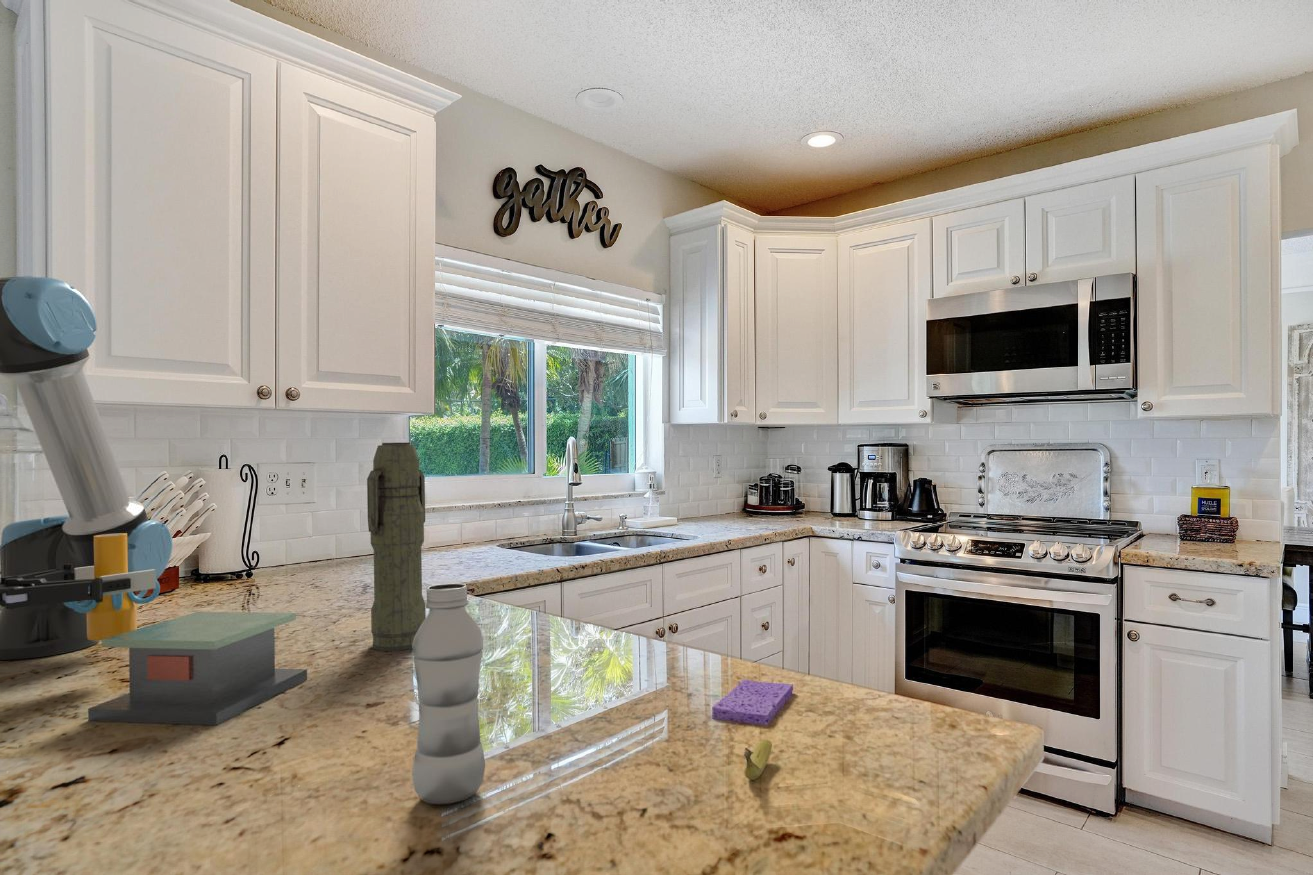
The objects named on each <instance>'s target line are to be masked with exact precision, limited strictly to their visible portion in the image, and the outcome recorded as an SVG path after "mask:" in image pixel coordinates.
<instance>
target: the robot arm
mask: <svg viewBox="0 0 1313 875" xmlns="http://www.w3.org/2000/svg"><path fill="white" fill-rule="evenodd" d="M97 330H98V324H97V319H96V316H95V312H94V309H93V308H92V305H91V304H90V303H89V301H88V300H87V299H86V297H85V296H84V295H83V294H82V293H81V292H80V291H79V290H78V289H76V288H75V287H73V286H71V285H69V284H68V283H67V282H65V281H63V280H61V279H58V278H53V277H37V276H30V275H24V276H11V277H10V276H9V277H0V375H1V376H3V377H5V378H8V379H10V380H11V381H13V382H14V383H15V385H16V387H17V390H18V392H19V395H20V397H21V399H22V402H23V405H24V407H25V410H26V411H27V412H26V413H27V414H28V417H29V420H30V421H31V425H32V427H33V429H34V431H35V435H36V437H37V439H38V442H39V444H40V447H41V450H42V452H43V455H44V456H45V460H46V462H47V465H48V466H49V469H50V471H51V473H52V476H53V479H54V481H55V483H56V486H57V488H58V492H59V493H60V496H61V499H62V501H63V503H64V506H65V509H66V511H67V513H68V514H64V515H56V516H49V517H42V518H41V517H39V518H34V519H33V518H32V519H26V520H22V521H21V520H20V521H15V522H11V523H9V524H7V525H5V527H4V528H3V529H2V532H1V538H0V539H1V542H0V607H1V608H0V609H1V610H0V661H7V660H9V661H10V660H11V661H12V660H24V659H34V658H42V657H49V656H53V655H54V656H55V655H60V654H65V653H66V654H67V653H71V652H73V651H78V650H82V649H85V648H89V647H91V646H94V645H95V644H97V643H99V642H100V641H94V640H88V639H87V619H86V613H87V612H86V613H79V612H77V611H75V610H74V609H72V608H69V607H67V606H66V605H65V604H64V603H65V602H75V601H77V602H78V604H81V603H84V602H85V601H87V600H95V603H98V602H103V596H107V595H114V594H120V593H127V592H133V593H134V592H139V591H140V592H141V590H147V589H148V590H154V588H156V580H158V578H160V577H161V575H162V574H163V573H164V571H165V570H166V568H167V566H168V564H169V561H170V560H171V556H172V553H173V536H172V533H171V530H170V529H169V526H168V525H166V524H165V523H162V521H158V520H153V519H149V518H148V514H147V512H146V509H145V506H144V505H143V503H142V502H140V501H138V500H134V499H132V498H130V496H129V493H128V490H127V487H126V485H125V482H124V480H123V476H122V474H121V472H120V468H119V466H118V463H117V461H116V456H114V452H113V449H112V446H111V443H110V442H109V439H108V436H107V433H106V429H105V427H104V425H103V422H102V418H101V417H100V413H99V410H98V408H97V406H96V403H95V400H94V398H93V395H92V392H91V388H90V386H89V383H88V381H87V378H86V376H85V372H84V370H83V368H84V366H86V363H87V362H88V361H89V359H90V358H91V356H90V353H89V351H88V349H89V347H91V345H93V343H94V341H95V339H96V334H95V333H94V332H97ZM116 533H127V551H128V573H122V574H114V575H107V576H100V578H95V579H94V536H96V535H103V534H116ZM88 586H90V592H89V588H88ZM148 590H147V591H148Z"/></svg>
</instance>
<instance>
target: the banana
mask: <svg viewBox="0 0 1313 875" xmlns="http://www.w3.org/2000/svg"><path fill="white" fill-rule="evenodd" d="M772 748H773V745H772V742H771V740H768V739H762V740H760V741H759V742H758V743H757V744H756V746H755V748H754V750H753V751H751V750H750V748H748V747H745V748H744V752H743V753H744V754H743V756H744V757H745V760H746V762H745V767H744V776H745V777H746V779H747V780H750V781H754V780H756V779H758V778H759V777H760V776H761V775H762V773H763V772H764V769H765V768H766V766H767V763H768V761H769V758H770V754H771V751H772Z"/></svg>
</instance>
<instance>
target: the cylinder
mask: <svg viewBox="0 0 1313 875" xmlns="http://www.w3.org/2000/svg"><path fill="white" fill-rule="evenodd" d="M122 573H128V551H127V533H116V534H103V535H96V536H94V579H95V578H100V576H107V575H114V574H122ZM88 588H89V592H90V586H88ZM148 590H149V589H147V590H141V591H140V592H139V593H137V594H136V595H135V593H134V592H127V593H120V594H114V595H107V596H103V602H98V603H95V600H87V601H85V602H84V603H81V604H78V602H77V601H75V602H65V603H64V604H65V605H66V606H67V607H69V608H72V609H74V610H75V611H77V612H79V613H86V612H87V613H86V619H87V639H88V640H94V641H99V642H102V639H105V638H108V637H112V636H115V635H119V634H122V633H126V632H129V631H133V630H136V629H138V620H137V619H138V617H137V616H138V614H137V613H138V611H137V610H138V608H137V604H140V605H144V604H148V603H150V602H153V601H154V600H156V598H157V597H158V596H159V594H160V591H161V585H160V583H159V581H158V579H156V588H154V589H153V591H152V593H151V595H149V596H148V597H145V598H143V597H144V596H145V595H146V594H147V592H148Z"/></svg>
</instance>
